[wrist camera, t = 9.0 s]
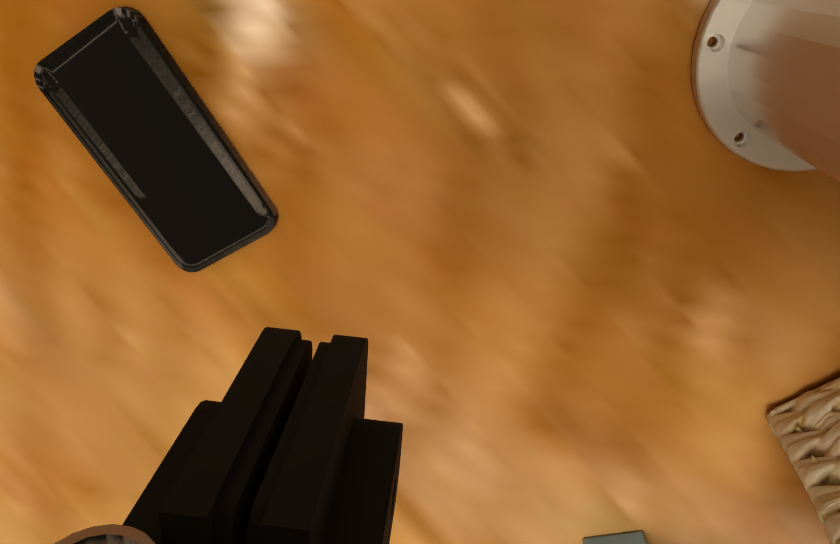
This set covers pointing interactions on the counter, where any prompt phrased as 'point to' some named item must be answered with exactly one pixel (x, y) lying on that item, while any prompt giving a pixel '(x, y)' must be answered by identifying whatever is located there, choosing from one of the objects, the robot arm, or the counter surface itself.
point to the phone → (155, 139)
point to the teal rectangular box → (617, 538)
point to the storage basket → (814, 448)
